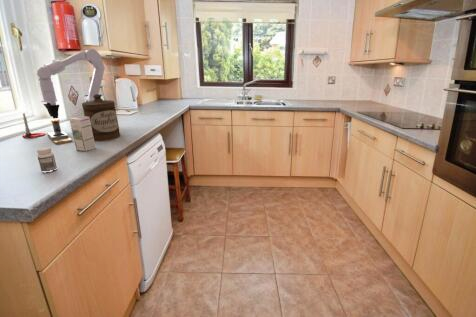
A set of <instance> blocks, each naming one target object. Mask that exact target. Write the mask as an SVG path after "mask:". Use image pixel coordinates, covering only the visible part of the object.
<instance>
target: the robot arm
mask: <svg viewBox="0 0 476 317" xmlns="http://www.w3.org/2000/svg"><path fill="white" fill-rule="evenodd" d="M78 61H87V62H88V63H90V65H91V66H92V68H94V69H93V73H92V79H91V82H90V85H89V90H88V94H87V97H86V98H85V102H90V101H93V100H94V99H95V98H94V97H93V96H94V95H95V94H99V93H100V90H101V89H100V88H101V85H102V80H103V76H104V73H105V65H104V62H103V60H102V55H101V54H100V52H98V50H96V49H94V48H89V49H86V50H84V51H79V52H76V53H74V54H72V55H70V56H68V57H67V58H65V59H63V60H61V59H56V60H55V59H53V60H52V61H51V62H49V63H47V64H43V65H42V66H40V67H39V68H37V69H36V75H37V77H38V81H39V87H40V90H41V91H40V92H41V95H42V99H43V100H40V101H41V103H43V105H44V107H45V109H46V111H47V112H48V114H49V116H50V117H51V118H53V119H59V108H60V104H57V102H58V98H57V95H56V91H55V87H54V83H53V81H52V76H55V75H57V74H59V73H63V71H66V67H67V66H70V65H72V64H74V63H77V62H78ZM99 95H100V94H99Z"/></svg>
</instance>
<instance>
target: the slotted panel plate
mask: <svg viewBox="0 0 476 317" xmlns="http://www.w3.org/2000/svg"><path fill="white" fill-rule="evenodd" d="M47 138H48V139H49V140H50V141H51V142H52V143H53V144H54V145H61V144H68V143H72V142H73V140H72V138H71V137H69V134H67V133H66V132H65V131H64V130H61V131H57V132H54V131H53V132H51V131H50V132H47Z"/></svg>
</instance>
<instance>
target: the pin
mask: <svg viewBox="0 0 476 317" xmlns="http://www.w3.org/2000/svg"><path fill="white" fill-rule="evenodd" d="M60 121H61V120H60V119H51V120H50V123H51V124H52V128H53V132H57V131H62V129H61V125H60Z"/></svg>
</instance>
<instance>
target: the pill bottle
mask: <svg viewBox="0 0 476 317" xmlns="http://www.w3.org/2000/svg"><path fill="white" fill-rule="evenodd" d="M36 152H37V154H38V155H37V160H38V163H39V164H38V165H39V168H40V170H41V172H42V171H50V170H54V169H56V168H57V169H58V166H57V163H56V159H55V155H54V153H53V152H52V148H51V147H50V146H46V147H40V148H37V149H36Z"/></svg>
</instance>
